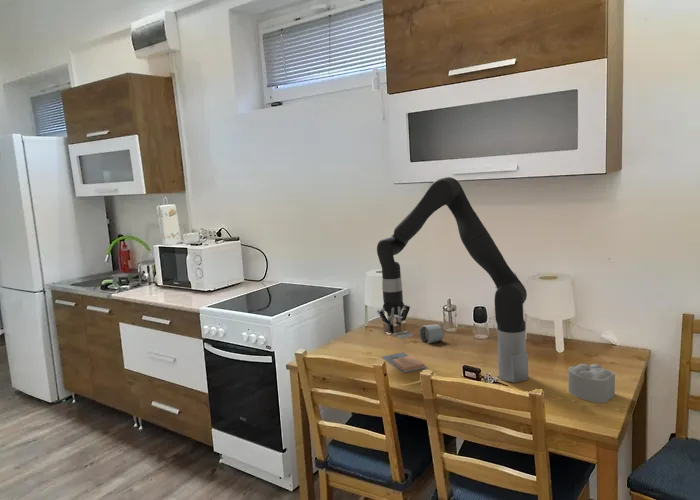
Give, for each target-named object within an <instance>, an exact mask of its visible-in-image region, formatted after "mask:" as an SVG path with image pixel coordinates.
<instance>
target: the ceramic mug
mask: <svg viewBox="0 0 700 500" xmlns="http://www.w3.org/2000/svg"><path fill="white" fill-rule="evenodd" d="M444 336H445V331H444V328H443V326H441V325H440V324H437V323H435V324H428V325H421V326H420V328H419V338H420V341H421V342H426V341H427V342H426V344H433V343H436V342H439V341H440V342H441V341H442V340H443V339H444Z"/></svg>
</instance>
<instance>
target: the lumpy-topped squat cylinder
mask: <svg viewBox="0 0 700 500" xmlns="http://www.w3.org/2000/svg"><path fill="white" fill-rule="evenodd" d="M567 371H568V379H567V380H568V381H567V382H568V386H567V387H568V392H569V393H570V394H571V395H572V396H574V397H576V398H578V399H582V400H585V401H589V402H592V403H596V404H597V403H598V404H606V403H608V402H609V401H610V400H611V399H613V398H615V396H616V394H615V393H616V392H615V391H616V373H614V371H612V370H609V369H606V368H603V367H602V366H601V365H600V364H598V363H592V364H590V365H589V364H585V363H580V364H578V365H572V366H570V367H569V368H568V370H567Z"/></svg>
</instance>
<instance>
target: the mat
mask: <svg viewBox="0 0 700 500" xmlns="http://www.w3.org/2000/svg"><path fill="white" fill-rule="evenodd" d="M407 356H409V354H407V353H405V352H404V351H402V352H398V353H397V352H396V353H393V354H389V355H387V354H386V355H383V356H380V358H382V359H383V360H384V361H386V362H387V363H388V364H390V365H391V366H393V367H394V368H396V369H397V370H398V371H400V372H401V373H403V374H408V373H412V372H418V371H422V370H426V369H429V367H428V366H426V365H424V366H425V368H421V369H416V370H412V371H407V372H405V371H403V370H402V369H400V368H399V367H397V366H396V365H395V364H393V359H397V358H402V357H407Z"/></svg>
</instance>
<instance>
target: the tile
mask: <svg viewBox="0 0 700 500" xmlns="http://www.w3.org/2000/svg"><path fill="white" fill-rule="evenodd" d="M393 364H395V365H396V366H397V367H399V368H400V369H402V370H403V371H405V372H407V371H412V370H416V369H421V368H425V366H426V365H425V363H424V362H423V361H421V360H419V359H418V358H416V357H415V356H413V355H408V356H407V357H402V358H397V359H393Z"/></svg>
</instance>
